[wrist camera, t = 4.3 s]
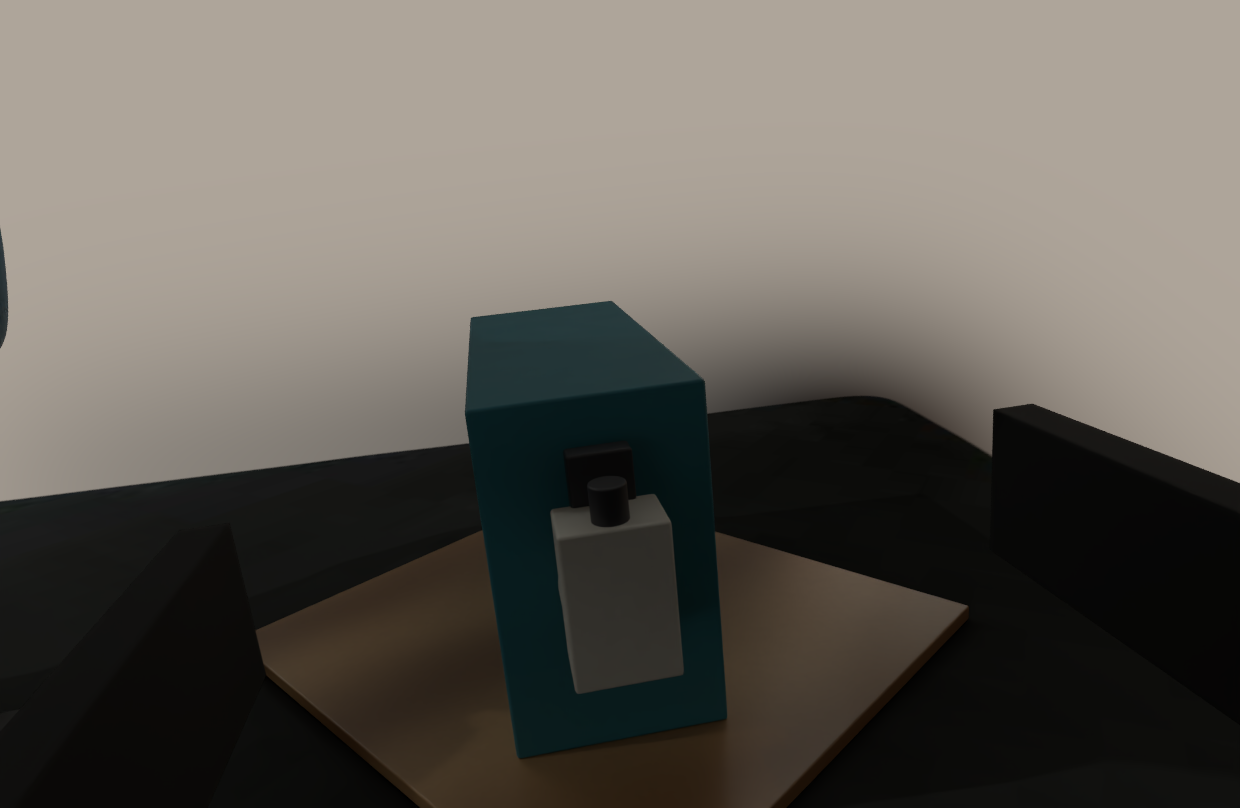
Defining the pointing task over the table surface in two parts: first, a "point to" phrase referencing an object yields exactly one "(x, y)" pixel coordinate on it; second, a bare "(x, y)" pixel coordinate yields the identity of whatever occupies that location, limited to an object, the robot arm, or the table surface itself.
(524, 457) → the teal box
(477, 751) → the cork mat
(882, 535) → the table surface
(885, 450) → the table surface
